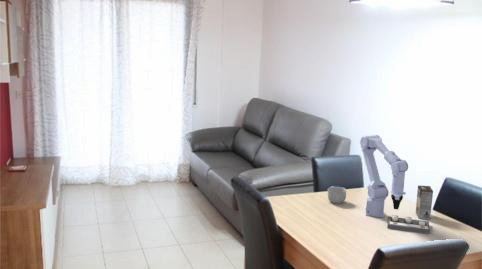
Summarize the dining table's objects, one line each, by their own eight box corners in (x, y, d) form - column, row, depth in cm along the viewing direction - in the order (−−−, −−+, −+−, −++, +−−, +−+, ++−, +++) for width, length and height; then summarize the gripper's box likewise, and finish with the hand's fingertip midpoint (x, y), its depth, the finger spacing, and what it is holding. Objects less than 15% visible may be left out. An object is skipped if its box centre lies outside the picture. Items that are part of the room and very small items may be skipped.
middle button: (405, 222, 222) (405, 218, 221) (405, 220, 225) (405, 216, 224) (411, 223, 221) (411, 219, 220) (411, 221, 224) (411, 217, 223)
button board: (387, 228, 220) (387, 223, 219) (387, 219, 231) (388, 215, 231) (429, 234, 213) (430, 229, 213) (428, 225, 224) (428, 220, 224)
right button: (418, 227, 220) (419, 223, 220) (418, 225, 223) (418, 220, 222) (424, 228, 219) (425, 223, 219) (424, 226, 222) (425, 221, 221)
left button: (391, 221, 224) (392, 216, 223) (391, 219, 227) (392, 214, 226) (398, 221, 223) (398, 217, 222) (398, 219, 226) (398, 215, 225)
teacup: (347, 205, 252) (348, 192, 251) (328, 205, 253) (329, 191, 251) (342, 197, 266) (342, 184, 265) (324, 197, 266) (325, 184, 265)
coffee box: (415, 212, 242) (417, 185, 239) (427, 213, 241) (429, 185, 238) (418, 218, 233) (420, 190, 230) (430, 219, 232) (433, 190, 229)
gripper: (406, 188, 213) (404, 214, 216) (406, 180, 227) (403, 205, 229) (391, 187, 215) (389, 212, 218) (391, 179, 229) (389, 203, 231)
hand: (395, 208), depth 224 cm, fingers closed
